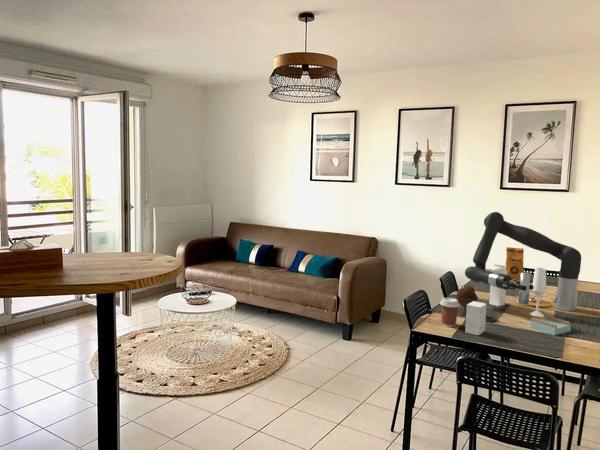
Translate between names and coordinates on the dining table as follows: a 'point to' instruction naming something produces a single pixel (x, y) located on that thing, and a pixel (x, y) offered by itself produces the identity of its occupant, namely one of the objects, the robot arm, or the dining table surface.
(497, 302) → the milk
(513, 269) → the coffee package
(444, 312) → the coffee cup
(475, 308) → the small box
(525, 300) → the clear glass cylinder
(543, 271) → the champagne flute
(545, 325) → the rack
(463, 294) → the ice cream bowl
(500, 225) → the robot arm
